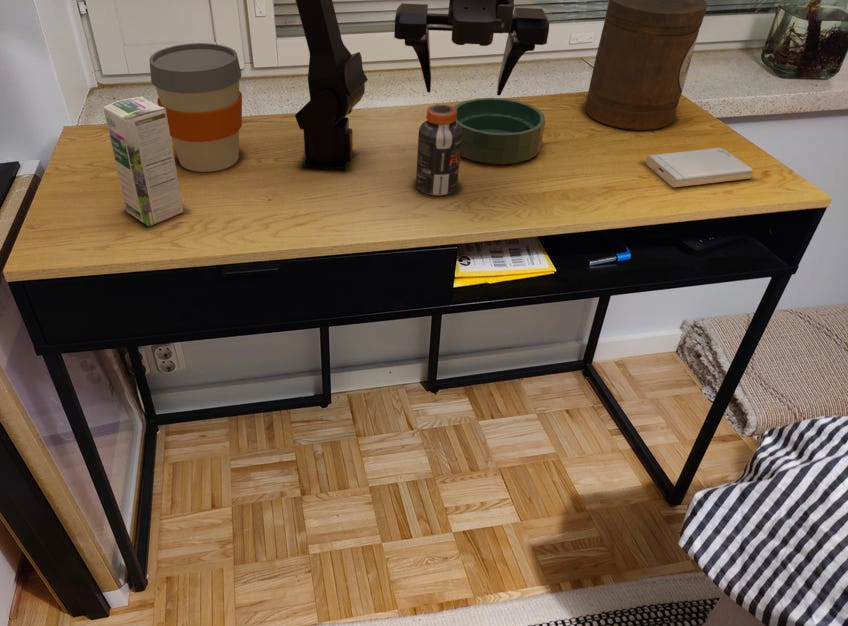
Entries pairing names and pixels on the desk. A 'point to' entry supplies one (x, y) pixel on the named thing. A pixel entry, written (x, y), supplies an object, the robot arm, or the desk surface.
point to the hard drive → (698, 167)
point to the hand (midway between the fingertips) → (463, 92)
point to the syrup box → (144, 159)
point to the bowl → (499, 130)
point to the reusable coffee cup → (200, 102)
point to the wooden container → (643, 61)
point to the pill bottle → (439, 151)
